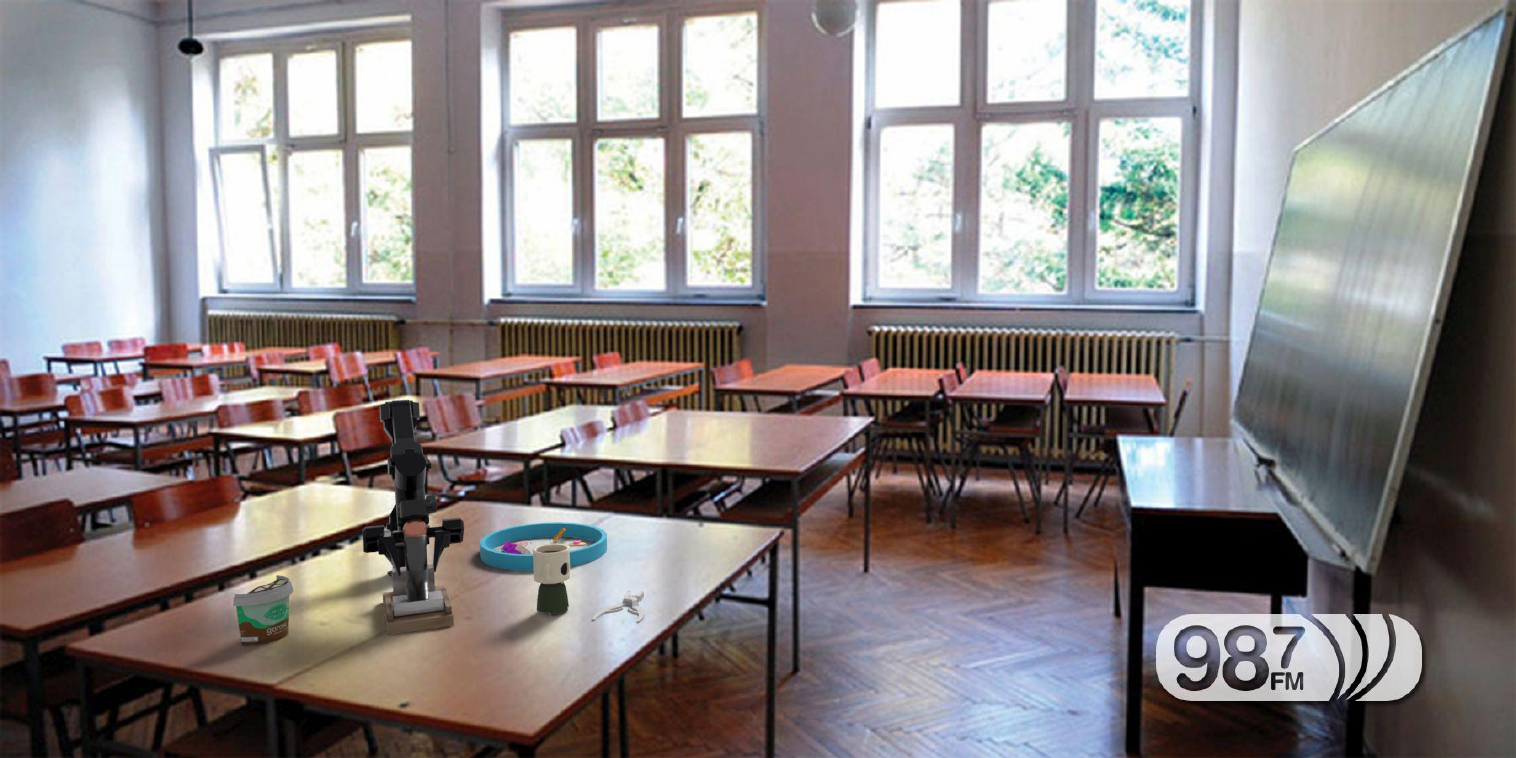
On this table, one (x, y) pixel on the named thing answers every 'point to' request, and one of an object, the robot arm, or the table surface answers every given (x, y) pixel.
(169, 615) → the table surface
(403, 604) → the handle
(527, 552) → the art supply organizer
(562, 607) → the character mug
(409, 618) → the board
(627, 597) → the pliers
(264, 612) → the food container
